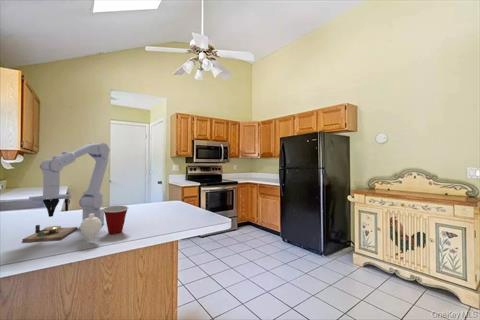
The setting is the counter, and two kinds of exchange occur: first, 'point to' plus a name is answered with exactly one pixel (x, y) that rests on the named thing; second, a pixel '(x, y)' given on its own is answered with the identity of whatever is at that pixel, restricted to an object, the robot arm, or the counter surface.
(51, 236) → the dial board
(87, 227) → the cream vase
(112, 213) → the plastic cup
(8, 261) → the counter surface
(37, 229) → the dial
